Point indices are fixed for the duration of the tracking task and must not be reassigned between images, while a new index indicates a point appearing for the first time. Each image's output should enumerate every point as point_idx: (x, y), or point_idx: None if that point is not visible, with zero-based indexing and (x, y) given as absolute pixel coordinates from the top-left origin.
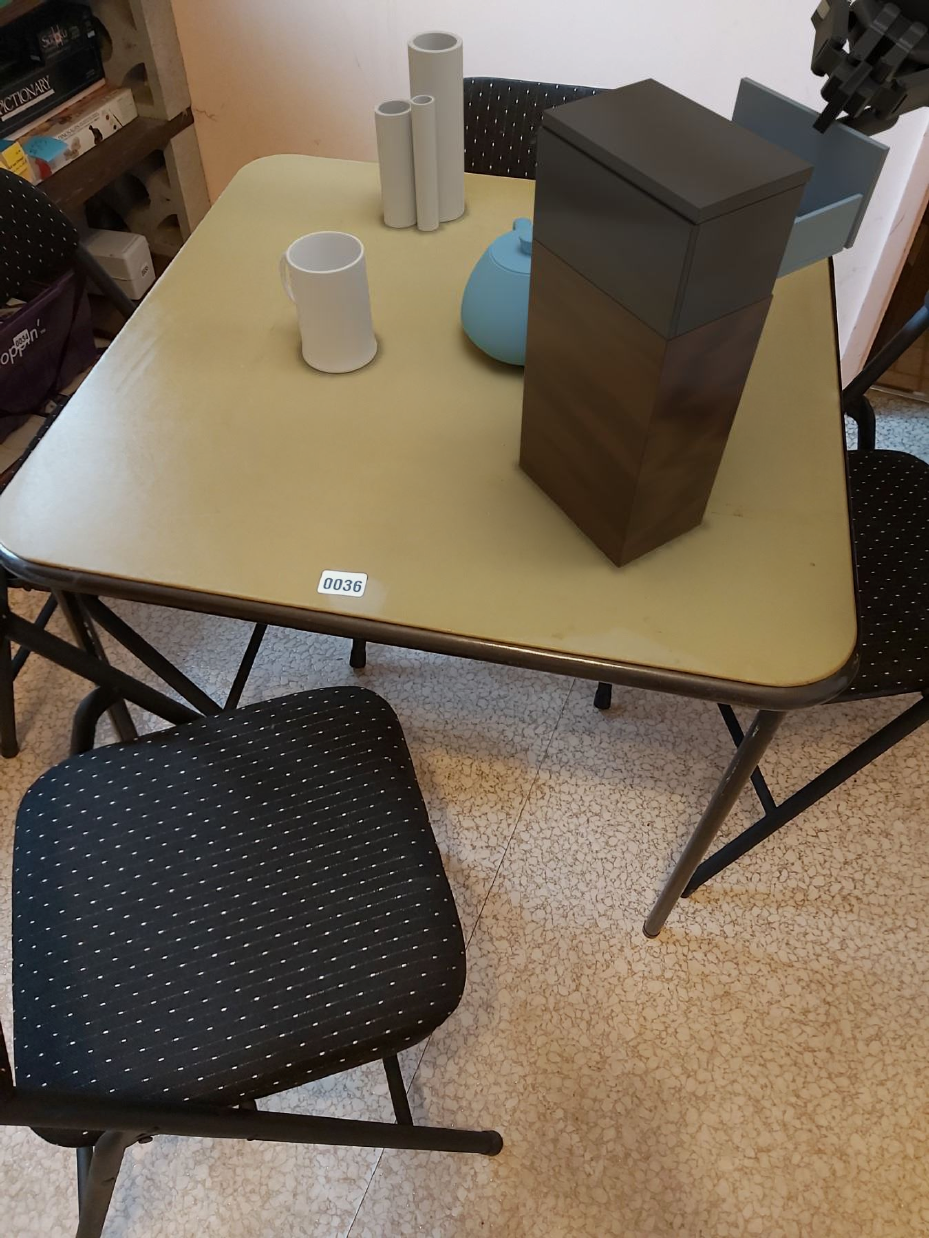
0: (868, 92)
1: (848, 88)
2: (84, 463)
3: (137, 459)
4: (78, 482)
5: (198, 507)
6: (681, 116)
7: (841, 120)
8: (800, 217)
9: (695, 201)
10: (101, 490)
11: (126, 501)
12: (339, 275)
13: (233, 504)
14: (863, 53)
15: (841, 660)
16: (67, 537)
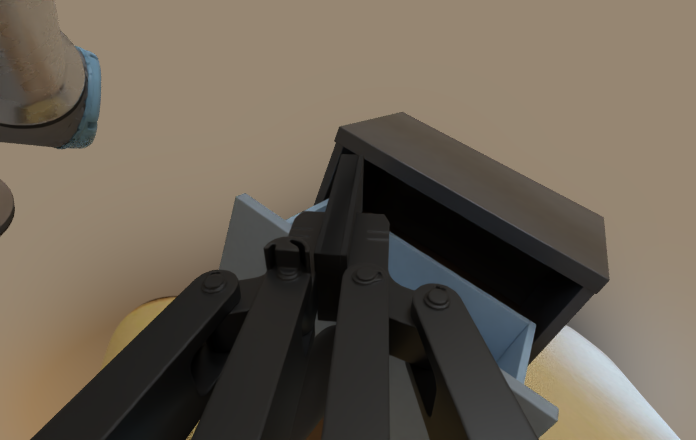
0: (303, 226)
1: (348, 164)
2: (611, 383)
3: (598, 393)
4: (597, 369)
5: (538, 364)
6: (501, 200)
7: (305, 377)
8: (315, 208)
9: (409, 116)
10: (584, 366)
11: (567, 361)
12: None
13: (527, 370)
14: (352, 305)
15: (125, 317)
16: (560, 335)
